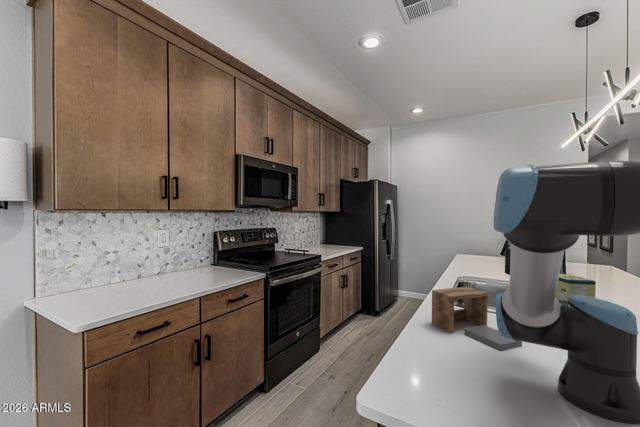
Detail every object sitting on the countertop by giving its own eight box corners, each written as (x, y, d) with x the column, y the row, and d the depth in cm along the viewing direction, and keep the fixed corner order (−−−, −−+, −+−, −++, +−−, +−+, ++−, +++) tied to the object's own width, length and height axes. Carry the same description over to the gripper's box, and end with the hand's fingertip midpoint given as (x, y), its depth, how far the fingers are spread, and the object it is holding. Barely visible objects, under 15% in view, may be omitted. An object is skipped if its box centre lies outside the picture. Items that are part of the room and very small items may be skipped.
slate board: (521, 347, 98) (522, 340, 98) (501, 352, 94) (501, 344, 94) (484, 331, 111) (484, 324, 111) (464, 335, 107) (464, 328, 107)
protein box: (570, 306, 142) (571, 273, 142) (596, 317, 126) (596, 281, 126) (546, 304, 143) (547, 272, 143) (569, 315, 128) (569, 280, 128)
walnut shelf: (487, 326, 114) (487, 292, 114) (451, 333, 107) (452, 297, 107) (465, 318, 123) (466, 286, 123) (431, 323, 116) (432, 290, 116)
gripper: (569, 227, 84) (567, 308, 84) (507, 224, 101) (506, 292, 101) (552, 227, 82) (551, 311, 82) (491, 224, 99) (490, 294, 99)
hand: (526, 300), depth 92 cm, fingers open, 5 cm apart
